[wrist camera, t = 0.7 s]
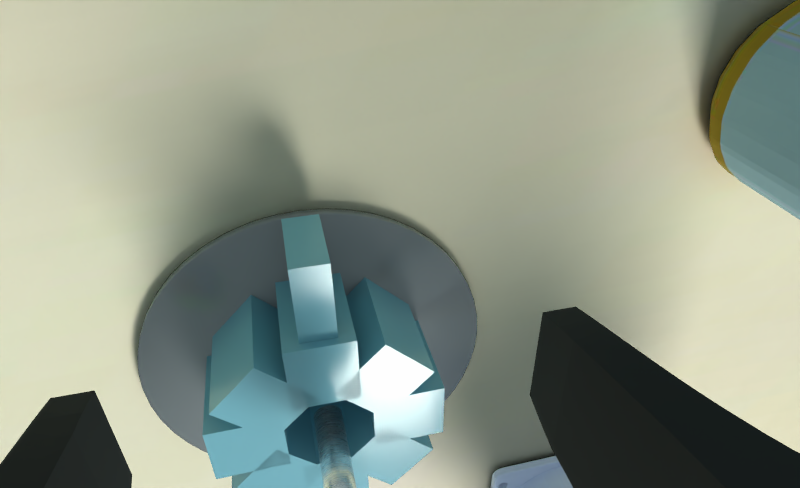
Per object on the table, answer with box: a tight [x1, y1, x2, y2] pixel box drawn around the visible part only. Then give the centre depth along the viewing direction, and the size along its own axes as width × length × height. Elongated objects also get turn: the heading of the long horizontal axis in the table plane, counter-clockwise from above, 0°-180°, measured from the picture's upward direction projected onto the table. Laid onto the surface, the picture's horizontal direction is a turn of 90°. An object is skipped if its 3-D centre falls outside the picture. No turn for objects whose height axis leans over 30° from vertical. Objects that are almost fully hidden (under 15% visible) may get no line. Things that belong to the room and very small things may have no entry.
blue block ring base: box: [137, 209, 477, 488], centre depth 21 cm, size 13×13×4 cm
